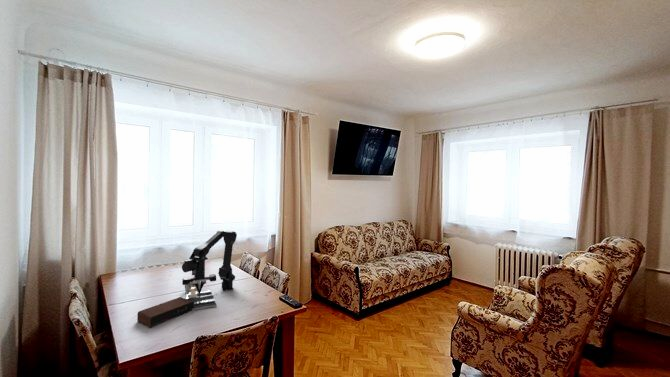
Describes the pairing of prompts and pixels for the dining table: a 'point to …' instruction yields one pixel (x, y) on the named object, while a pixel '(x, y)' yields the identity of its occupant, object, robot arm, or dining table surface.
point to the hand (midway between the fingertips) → (199, 293)
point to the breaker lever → (193, 292)
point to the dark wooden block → (164, 312)
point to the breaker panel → (202, 298)
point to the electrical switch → (188, 286)
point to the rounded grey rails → (204, 306)
